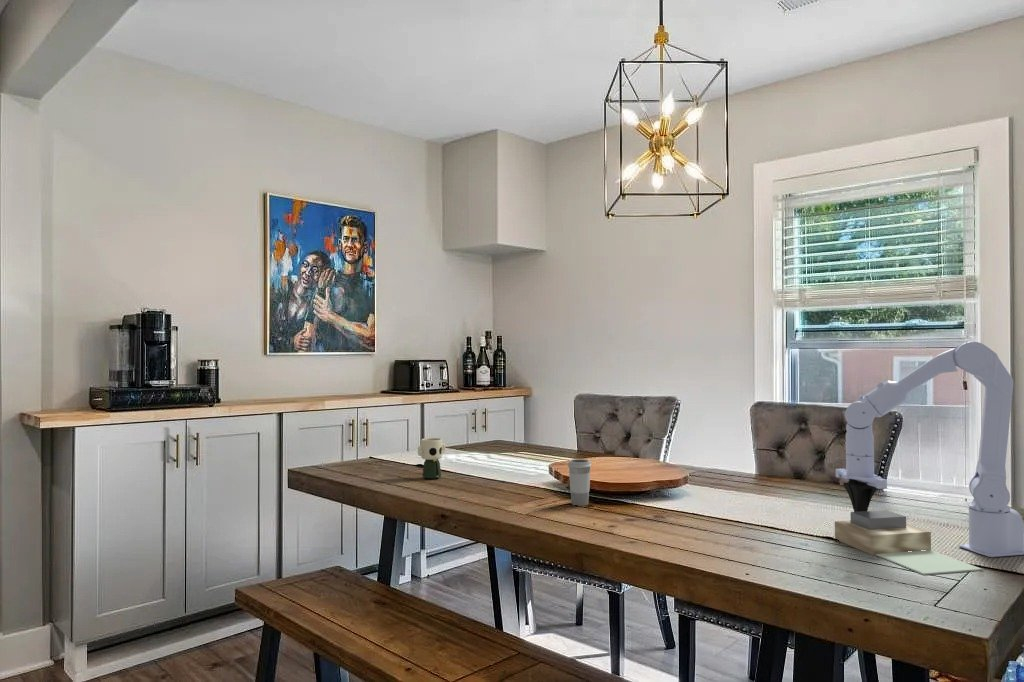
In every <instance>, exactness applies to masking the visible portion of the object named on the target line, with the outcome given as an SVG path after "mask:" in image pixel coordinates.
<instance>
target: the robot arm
mask: <svg viewBox="0 0 1024 682" xmlns="http://www.w3.org/2000/svg"><path fill="white" fill-rule="evenodd" d="M957 367H958V368H959V369H961V370H963V371H964V372H966V373H969V374H971V375H973V376H974V379H976V381H977V380H978V382H979V383H980V384H982V385H983V387H985V388H984V396H983V397H984V398H983V399H984V400H983V408H982V417H981V421H982V422H981V431H980V440H979V447H978V448H979V450H978V459H977V464H976V467H975V474H974V476H973V477H972V478H971V479H970V481H969V483H968V488H969V493H970V494H971V496H972V498H973V500H972V501H971V502H970V503H968V543H962V544H958V547H959V548H962V549H965V550H968V551H971V552H973V553H976V554H980V555H983V556H986V557H988V558H997V557H998V558H999V557H1000V558H1001V557H1010V556H1011V557H1013V556H1023V555H1024V520H1023V517H1022V515H1021V514H1020V513H1019V512H1018V511H1017V510H1015V509H1014V508H1010V506H1009V503H1010V501H1011V495H1010V491H1009V489H1008V488H1007V487H1008V486H1007V471H1006V469H1007V468H1006V461H1007V451H1008V441H1009V431H1010V422H1011V421H1010V420H1011V411H1012V399H1013V391H1014V378H1013V377H1012V375H1011V374H1010V373H1009V372H1008V371H1009V370H1007V368H1006V366H1005V365H1004V363H1003V362H1002V361H1001V359H1000V358H999V355H998V354H997V353H996V352H995V351H994V350H993V349H991V348H990V347H988V346H987V345H985V344H984V343H983V342H978V341H965V342H962V343H960V344H958V345H957V346H956V347H955V348H951V349H948V350H946V351H944V352H941V353H939V354H937V355H935V356H933V357H932V358H930V359H929V360H928V361H926V362H925V363H923V364H922V365H921V366H920V365H919V366H918V368H916V369H915V370H913V371H911V372H910V373H908V374H907V375H906V376H904V377H902V378H901V379H900V380H898V381H893V380H886V381H884V382H883V381H880V382H877V384H876V386H877V387H876V388H874V389H873V390H871V391H869V392H867V393H866V394H865V395H862V394H860V395H859V396H858V400H859V401H853V402H852V403H850V404H849V405H848V406H847V407H846V409H845V411H844V412H845V413H844V418H845V421H846V422H847V423H846V426H845V430H846V433H845V468H835V477H836V478H838V479H839V478H842V479H846V480H847V482H843V488H844V489H845V491H846V492H847V494H848V496H849V499H850V502H851V504H852V509H853V512H861V511H869V507H870V504H871V501H872V499H873V496H874V494H875V493H876V491H877V490H886V489H887V488H888V480H887V479H885V478H882V477H881V476H879V475H877V474H875V441H874V440H875V438H874V437H875V436H874V434H873V422H874V420H875V418H881V417H883V416H885V415H887V414H888V413H889V412H891V411H893V410H894V409H896V408H898V407H900V406H902V405H903V404H904V403H906V402H907V396H908V393H911V392H912V391H913V390H916V389H917V388H919V387H920V386H922V385H923V384H925V383H927V382H928V381H930V380H932V379H933V378H936V377H937V376H939V375H940V374H945V373H953V372H954V373H955V372H958V371H959V370H958V369H957Z"/></svg>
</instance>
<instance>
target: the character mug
mask: <svg viewBox="0 0 1024 682" xmlns="http://www.w3.org/2000/svg"><path fill="white" fill-rule="evenodd" d="M445 452H446V443H444V442H443V439H442V438H439V437H428V438H427V437H426V438H422V439H421V440H420V445H419V446H418V447H417V455H418V456H419V457H421V459H423V460H424V462H423V468H422V477H423V478H426V479H428V478H429V479H437V476H438V478H441V477H442V470H441V469H442V468H441V463H440V459H442V458H443V455H444V454H445Z"/></svg>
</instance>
